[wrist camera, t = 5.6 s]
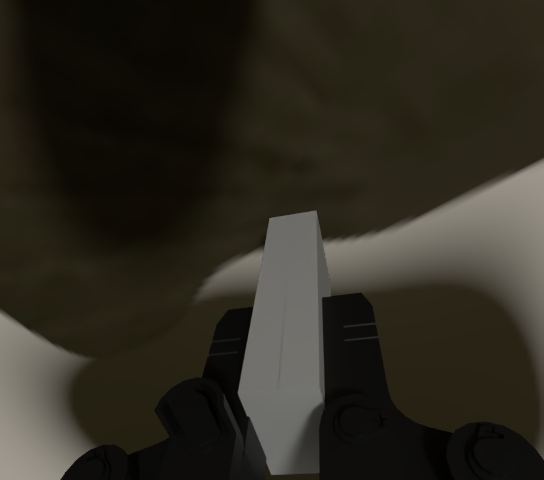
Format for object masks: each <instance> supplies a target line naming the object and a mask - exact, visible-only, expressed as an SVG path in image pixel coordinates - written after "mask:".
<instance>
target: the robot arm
mask: <svg viewBox="0 0 544 480" xmlns="http://www.w3.org/2000/svg"><path fill="white" fill-rule="evenodd" d="M155 412H156V414H157V416H158V418H159V419H160V421H161V423H162V424H163V426H164V428H165V429H166V431H167V433H168V434H169V436H170V437H169V438H168V439H166V440H164V441H162V442H160V443H158V444H155V445H153V446H150V447H148V448H145V449H142V450H140V451H137V452H134V453H132V454H129V455H127V454H126V453H125V451H124V450H123V449H122V448H120V447H118V446H116V445H102V446H99V447H97V448H94V449H91V450H89V451H88V452H86V453H85V454H84V455H82V456H81V457H79V458H78V459H77V460H76V461H75V462H74V463H73V465H72V466H71V467H70V468H69V469H68V470H67V471H66V472H65V474H64V475H63V477H62V478H61V480H264V479H265V469H266V463H267V465H268V467H269V470H270V473H271V475H280V474H281V475H282V474H307V473H319V474H320V480H544V460H543V459H542V457H541V456H540V454H539V453H538V452H537V451H536V449H535V448H534V447H533V446H532V445H531V444H530V443H528V442H527V441H526V440H525V439H524V438H523V437H522V436H521V435H520V434H518V433H516V432H514V431H512V430H510V429H509V428H507V427H505V426H503V425H497V424H493V423H489V422H476V423H468V424H466V425H464V426H463V427H461V428H459V429H457V430H455V432H454V433H451V432H446V431H442V430H438V429H434V428H430V427H427V426H424V425H421V424H418V423H415V422H414V421H412V420H411V419H409V418H407V417H406V416H404V415H403V414H402V413H401V412H400V411H399V410H398V409H397V408H396V406H395V405H394V403H393V402H392V400H391V398H390V395H389V392H388V387H387V382H386V377H385V371H384V367H383V361H382V355H381V350H380V344H379V339H378V334H377V328H376V323H375V318H374V312H373V307H372V305H371V304H370V302H369V301H368V300H367V299H366V298H365V297H364V295H363V294H362V293H355V294H347V295H338V296H331V294H330V278H329V274H328V268H327V263H326V258H325V253H324V247H323V242H322V237H321V232H320V227H319V221H318V216H317V211H311V212H305V213H299V214H293V215H287V216H280V217H274V218H270V220H269V225H268V231H267V236H266V242H265V247H264V253H263V258H262V264H261V269H260V275H259V280H258V286H257V291H256V297H255V302H254V307H248V308H240V309H232V310H228V311H227V312H226V313H225V315H224V316H223V317H222V318H221V320H220V321H219V322H218V324H217V326H216V329H215V333H214V337H213V343H212V344H211V347H210V351H209V357H208V358H207V361H206V365H205V369H204V372H203V376H202V378H193V379H189V380H186V381H183V382H181V383H180V384H178V385H176V386H174V387H173V388H171V389H170V390H169V391H168V392H167V393H166V394H165V395H164V396H163V397H162V398H161V400H160V401H159V403H158V405H157V407H156V408H155Z"/></svg>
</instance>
